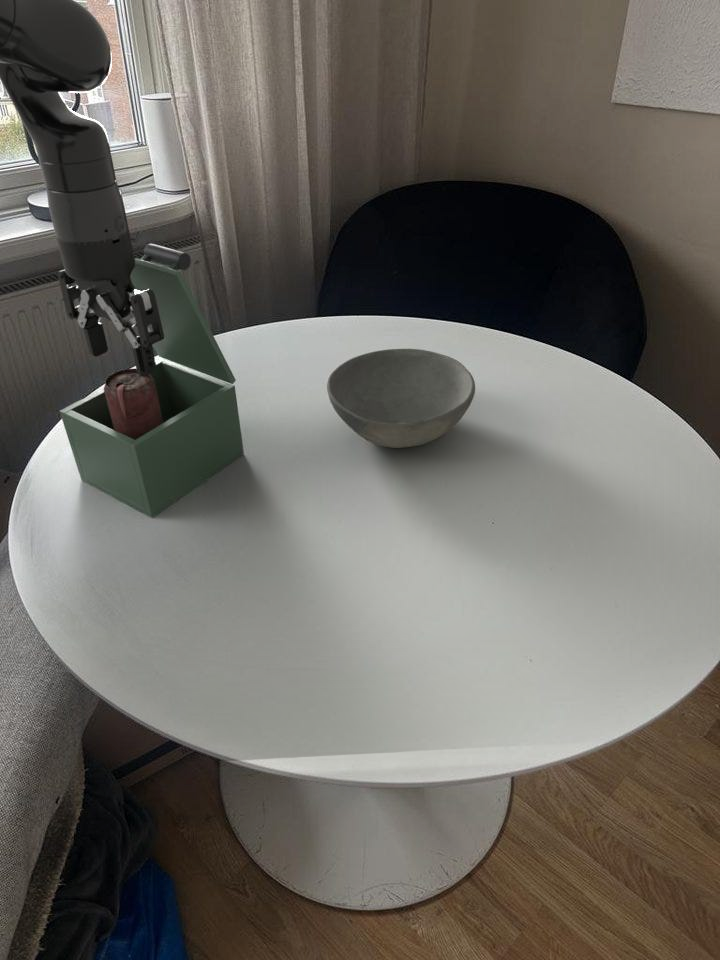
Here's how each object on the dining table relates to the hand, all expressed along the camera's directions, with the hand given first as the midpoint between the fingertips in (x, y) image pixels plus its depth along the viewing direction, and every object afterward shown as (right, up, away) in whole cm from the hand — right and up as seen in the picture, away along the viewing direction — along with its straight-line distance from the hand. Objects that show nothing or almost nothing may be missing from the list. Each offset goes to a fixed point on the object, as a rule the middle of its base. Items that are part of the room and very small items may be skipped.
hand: (122, 363), depth 85 cm
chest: (+2, -12, +12) cm, 17 cm away
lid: (+4, +6, +3) cm, 8 cm away
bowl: (+35, -7, +19) cm, 40 cm away
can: (0, -13, +10) cm, 16 cm away
